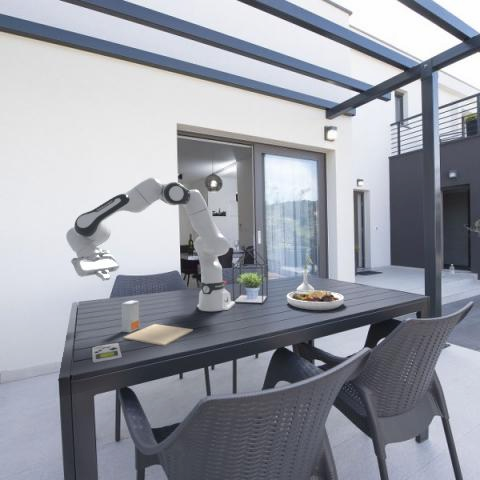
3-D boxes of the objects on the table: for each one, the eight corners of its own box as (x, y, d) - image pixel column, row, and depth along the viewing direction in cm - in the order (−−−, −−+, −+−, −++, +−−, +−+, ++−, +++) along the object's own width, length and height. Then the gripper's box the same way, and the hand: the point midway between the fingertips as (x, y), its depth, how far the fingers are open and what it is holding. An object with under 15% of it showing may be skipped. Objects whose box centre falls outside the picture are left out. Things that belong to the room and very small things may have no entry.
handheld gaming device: (118, 342, 118) (122, 356, 104) (118, 344, 118) (122, 358, 104) (92, 346, 114) (92, 361, 100) (92, 348, 114) (92, 364, 100)
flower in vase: (310, 294, 195) (310, 254, 194) (293, 293, 201) (293, 254, 200) (317, 291, 206) (317, 253, 205) (301, 289, 212) (301, 252, 211)
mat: (154, 325, 139) (154, 323, 139) (192, 330, 130) (192, 329, 130) (123, 338, 123) (123, 337, 123) (164, 345, 114) (164, 344, 114)
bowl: (277, 301, 181) (277, 287, 181) (323, 296, 190) (323, 284, 190) (304, 314, 152) (304, 298, 152) (355, 308, 162) (355, 293, 161)
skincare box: (130, 332, 129) (129, 304, 129) (121, 331, 131) (121, 303, 130) (139, 328, 135) (139, 300, 134) (131, 327, 136) (130, 300, 136)
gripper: (72, 253, 131) (89, 278, 127) (111, 250, 150) (127, 271, 146) (65, 263, 133) (82, 288, 129) (105, 259, 152) (121, 280, 148)
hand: (106, 279), depth 138 cm, fingers closed
